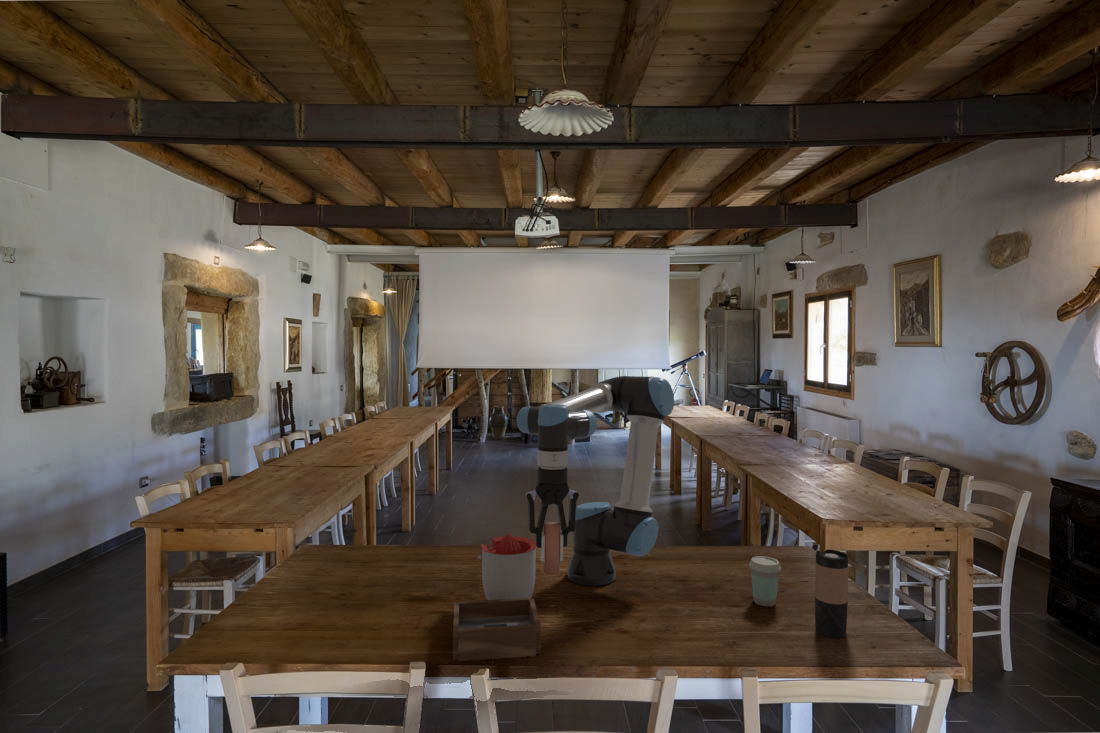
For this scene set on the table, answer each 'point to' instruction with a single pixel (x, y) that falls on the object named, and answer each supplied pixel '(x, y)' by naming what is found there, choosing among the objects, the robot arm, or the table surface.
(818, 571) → the travel mug
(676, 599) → the table surface
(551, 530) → the peg
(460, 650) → the open box
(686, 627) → the table surface
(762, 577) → the coffee cup
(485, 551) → the citrus juicer
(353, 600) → the table surface
